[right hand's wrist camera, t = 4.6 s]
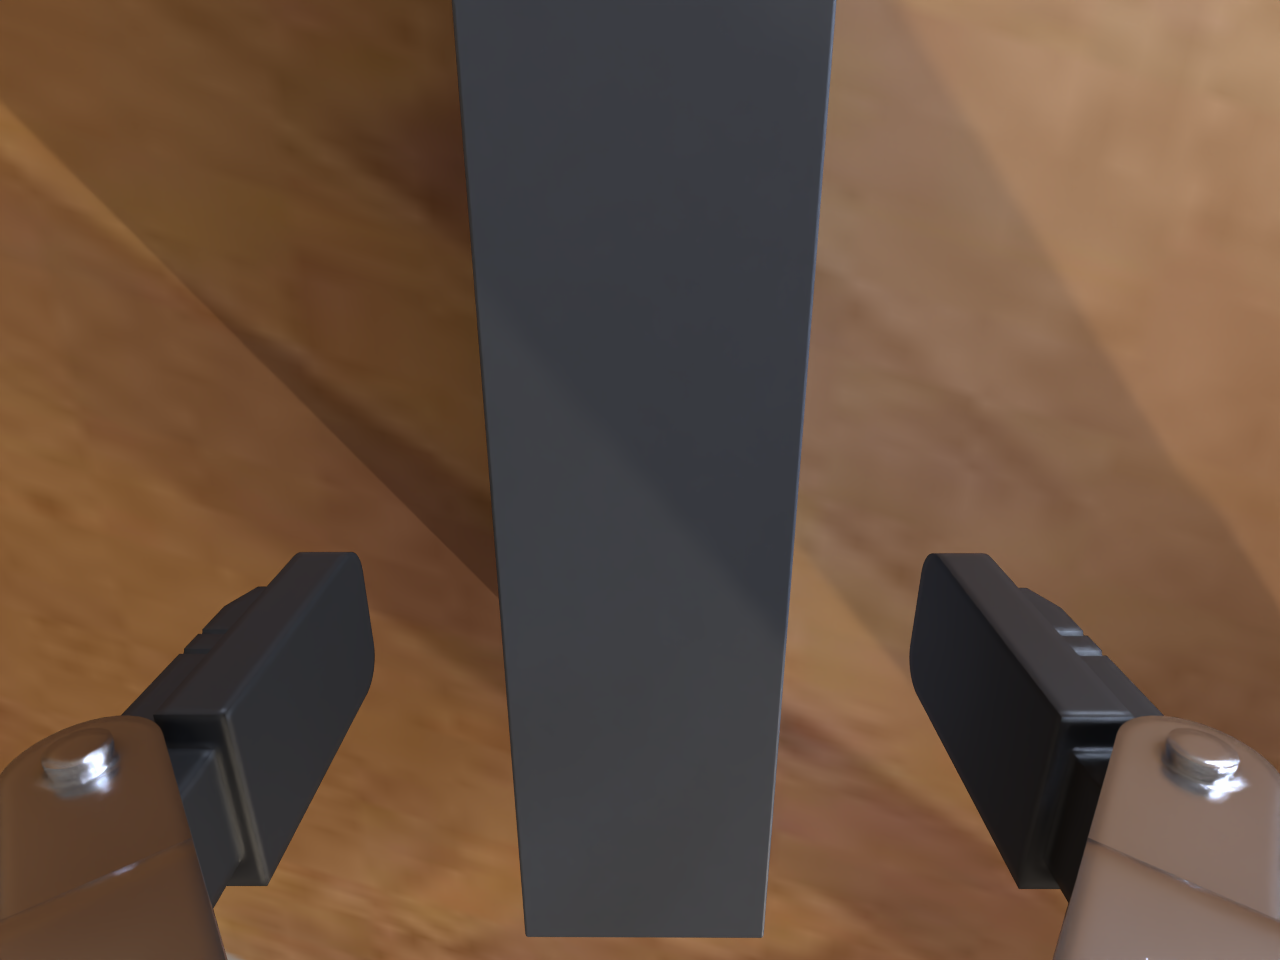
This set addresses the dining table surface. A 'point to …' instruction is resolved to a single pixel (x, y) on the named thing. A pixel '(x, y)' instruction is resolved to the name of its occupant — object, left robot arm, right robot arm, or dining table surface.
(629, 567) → the bar
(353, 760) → the dining table surface
